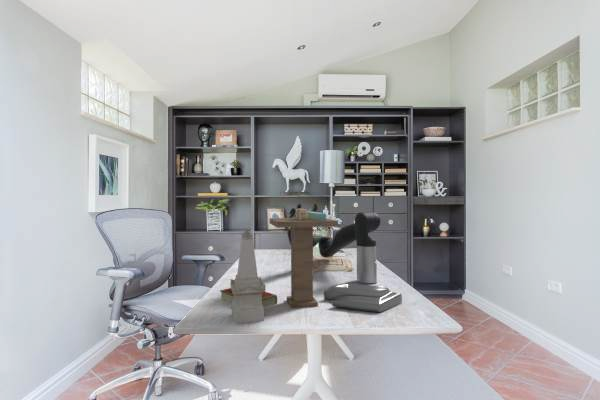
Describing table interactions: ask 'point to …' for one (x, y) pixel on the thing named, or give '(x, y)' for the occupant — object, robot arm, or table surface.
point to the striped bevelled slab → (362, 297)
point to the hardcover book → (266, 297)
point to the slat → (316, 215)
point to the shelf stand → (301, 255)
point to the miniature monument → (247, 285)
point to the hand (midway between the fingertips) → (307, 205)
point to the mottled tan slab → (332, 264)
